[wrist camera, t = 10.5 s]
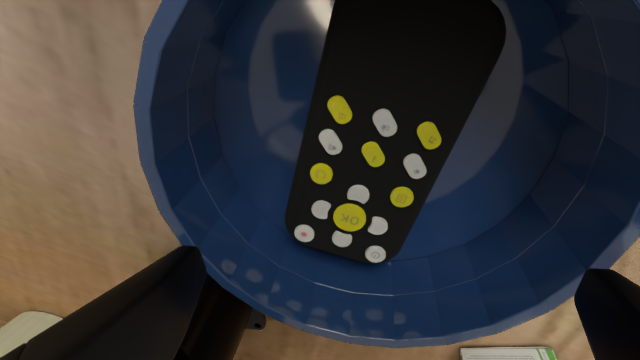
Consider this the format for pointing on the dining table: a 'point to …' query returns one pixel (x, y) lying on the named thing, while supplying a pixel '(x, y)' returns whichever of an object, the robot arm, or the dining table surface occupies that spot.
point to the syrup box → (508, 353)
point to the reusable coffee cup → (24, 329)
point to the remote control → (387, 118)
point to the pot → (447, 192)
